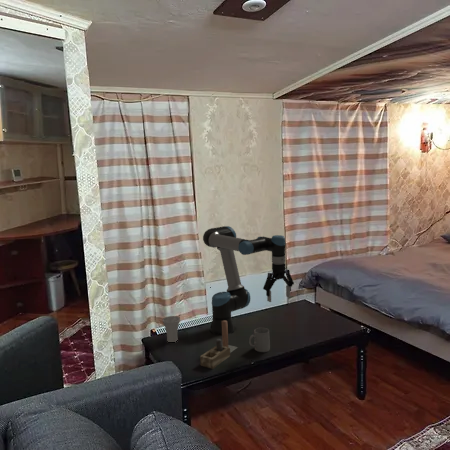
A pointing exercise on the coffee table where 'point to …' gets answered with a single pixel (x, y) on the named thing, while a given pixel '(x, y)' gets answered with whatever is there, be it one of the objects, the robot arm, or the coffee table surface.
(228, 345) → the mat
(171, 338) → the cup
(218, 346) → the socket block
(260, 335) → the mug
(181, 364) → the coffee table surface
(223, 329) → the dowel
